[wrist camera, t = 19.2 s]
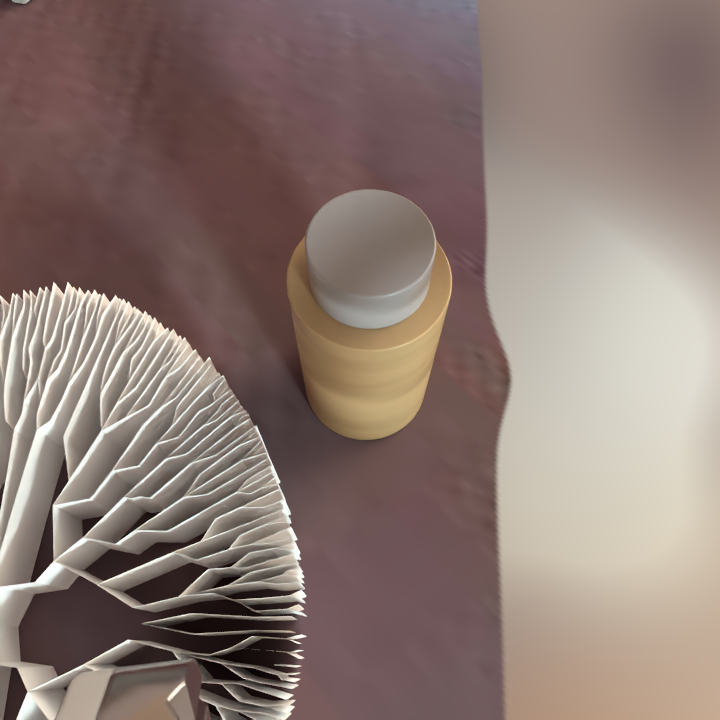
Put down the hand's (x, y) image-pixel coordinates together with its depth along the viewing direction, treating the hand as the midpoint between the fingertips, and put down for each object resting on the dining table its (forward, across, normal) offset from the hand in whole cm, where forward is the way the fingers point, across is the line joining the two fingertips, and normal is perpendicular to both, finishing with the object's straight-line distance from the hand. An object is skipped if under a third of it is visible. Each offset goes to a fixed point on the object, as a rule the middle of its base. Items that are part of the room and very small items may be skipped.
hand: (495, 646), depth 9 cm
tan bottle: (+20, 0, +4) cm, 20 cm away
